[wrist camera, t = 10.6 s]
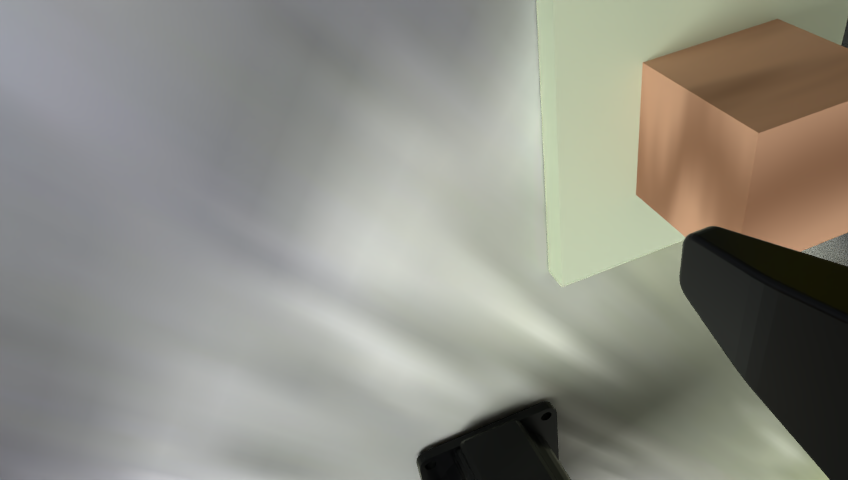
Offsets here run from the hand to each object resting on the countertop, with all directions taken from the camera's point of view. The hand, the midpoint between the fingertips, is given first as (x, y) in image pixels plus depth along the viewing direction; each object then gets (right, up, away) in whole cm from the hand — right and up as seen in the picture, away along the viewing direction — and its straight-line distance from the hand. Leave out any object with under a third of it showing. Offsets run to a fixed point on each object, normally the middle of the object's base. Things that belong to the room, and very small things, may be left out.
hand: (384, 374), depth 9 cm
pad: (+10, +7, +16) cm, 19 cm away
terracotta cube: (+10, +6, +15) cm, 19 cm away
